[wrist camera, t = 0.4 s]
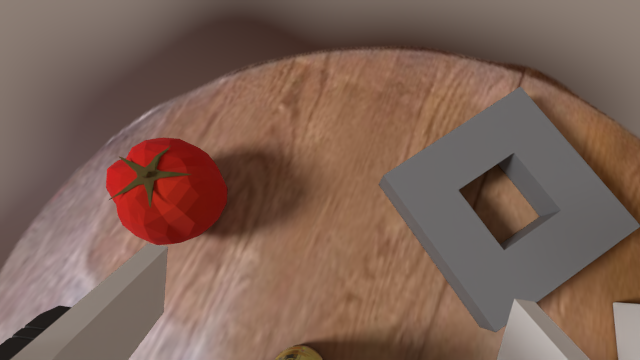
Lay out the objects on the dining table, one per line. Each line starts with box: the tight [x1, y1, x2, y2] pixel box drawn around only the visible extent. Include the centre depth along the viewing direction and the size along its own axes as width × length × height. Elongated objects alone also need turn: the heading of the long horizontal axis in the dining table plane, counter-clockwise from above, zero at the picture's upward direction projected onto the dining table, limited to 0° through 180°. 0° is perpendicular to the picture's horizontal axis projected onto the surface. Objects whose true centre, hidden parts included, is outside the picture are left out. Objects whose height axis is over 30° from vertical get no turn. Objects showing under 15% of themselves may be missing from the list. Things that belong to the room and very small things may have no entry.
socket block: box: [379, 87, 640, 332], centre depth 46 cm, size 20×20×4 cm
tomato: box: [106, 138, 227, 245], centre depth 43 cm, size 12×12×13 cm
